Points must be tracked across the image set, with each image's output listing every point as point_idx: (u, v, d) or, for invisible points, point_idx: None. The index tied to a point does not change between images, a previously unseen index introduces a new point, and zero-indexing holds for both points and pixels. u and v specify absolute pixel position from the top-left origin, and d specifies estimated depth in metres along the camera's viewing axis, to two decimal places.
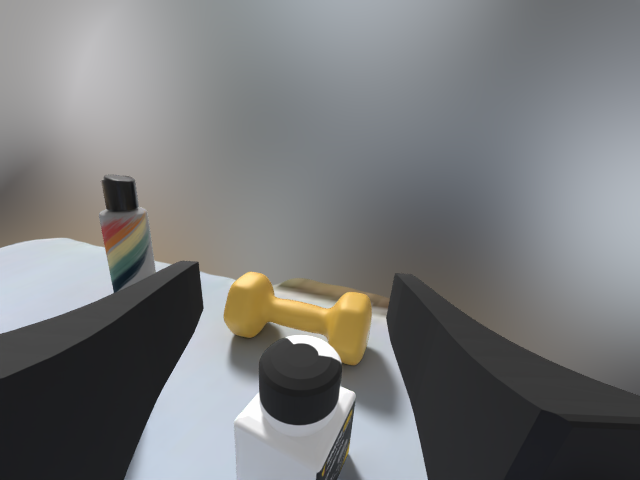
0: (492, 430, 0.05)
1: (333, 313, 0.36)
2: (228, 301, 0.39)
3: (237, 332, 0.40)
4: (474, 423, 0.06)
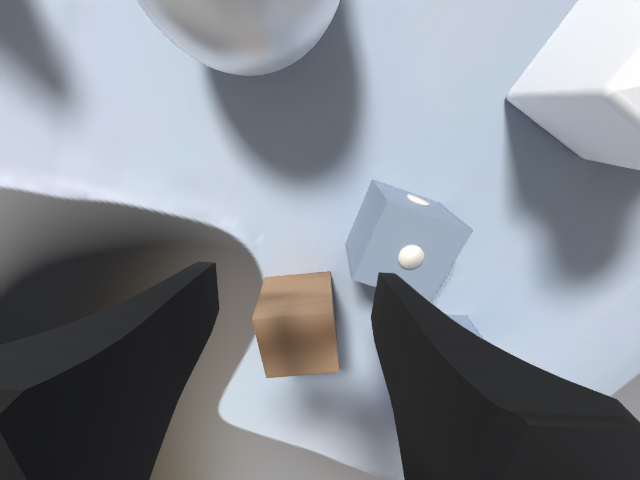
0: (458, 429, 0.05)
1: None
2: None
3: None
4: (443, 422, 0.06)
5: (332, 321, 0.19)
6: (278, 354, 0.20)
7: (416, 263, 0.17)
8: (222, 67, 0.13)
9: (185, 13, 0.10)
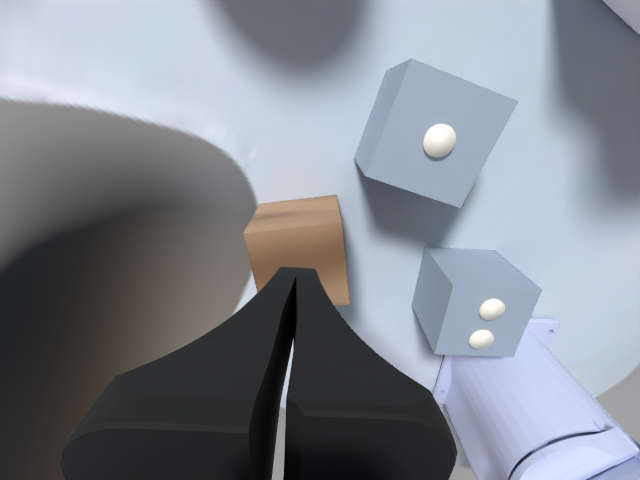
0: None
1: None
2: None
3: None
4: None
5: (341, 234, 0.15)
6: None
7: (446, 149, 0.13)
8: None
9: None
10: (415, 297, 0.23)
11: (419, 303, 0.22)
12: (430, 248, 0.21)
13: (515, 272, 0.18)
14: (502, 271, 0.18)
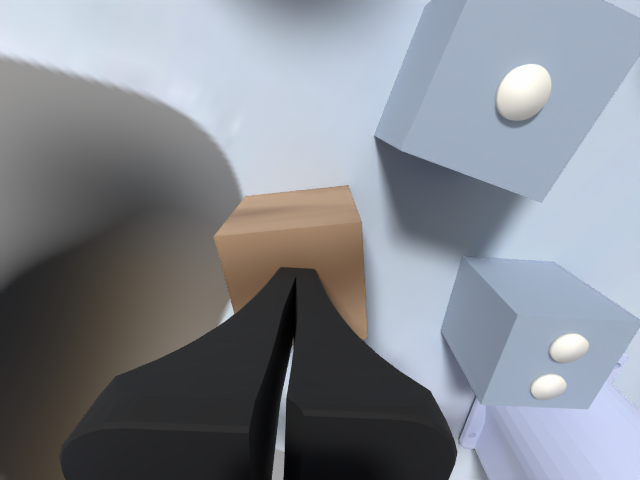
0: None
1: None
2: None
3: None
4: None
5: (359, 240, 0.10)
6: None
7: (532, 108, 0.08)
8: None
9: None
10: (446, 320, 0.17)
11: (454, 330, 0.16)
12: (470, 258, 0.16)
13: (594, 293, 0.13)
14: (576, 292, 0.13)
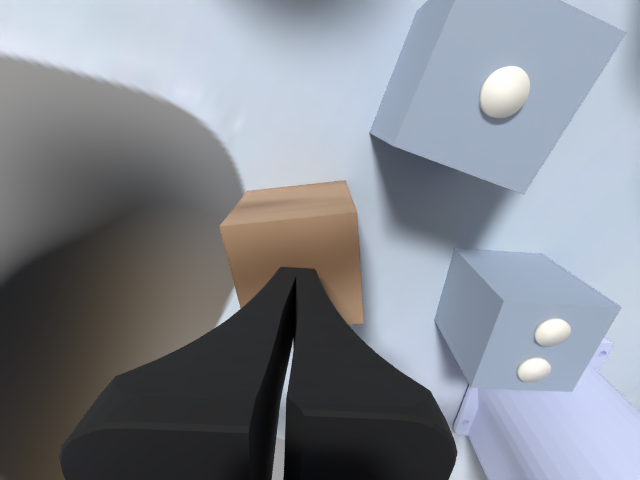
0: None
1: None
2: None
3: None
4: None
5: (355, 230, 0.11)
6: None
7: (513, 106, 0.09)
8: None
9: None
10: (440, 310, 0.18)
11: (446, 319, 0.17)
12: (461, 250, 0.17)
13: (577, 282, 0.14)
14: (561, 281, 0.14)
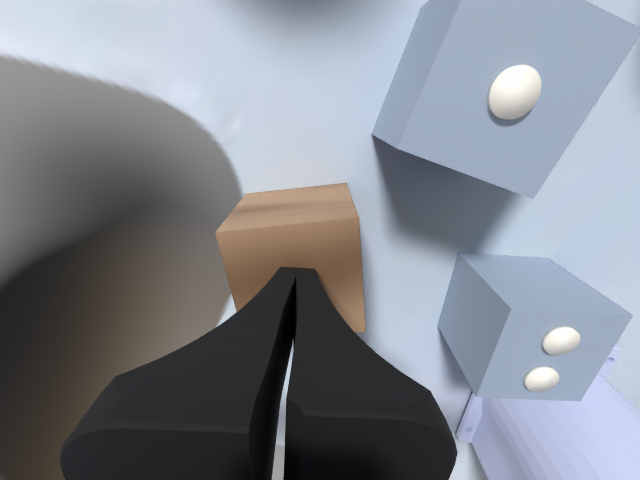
0: None
1: None
2: None
3: None
4: None
5: (357, 236, 0.11)
6: None
7: (523, 107, 0.09)
8: None
9: None
10: (443, 316, 0.18)
11: (450, 325, 0.17)
12: (466, 254, 0.16)
13: (586, 288, 0.14)
14: (569, 287, 0.14)
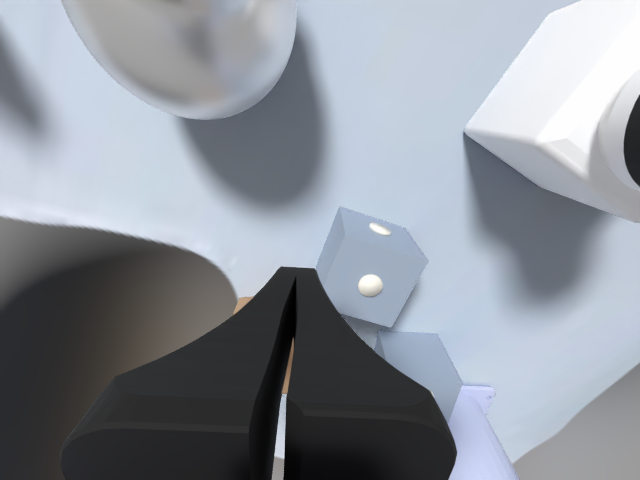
0: None
1: None
2: None
3: None
4: None
5: None
6: None
7: (375, 291, 0.18)
8: (179, 115, 0.13)
9: (135, 76, 0.11)
10: None
11: None
12: (382, 332, 0.25)
13: (447, 361, 0.23)
14: (436, 361, 0.23)
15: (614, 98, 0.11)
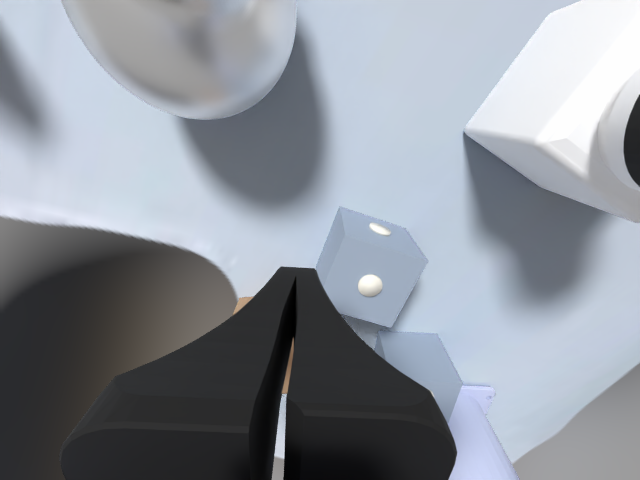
0: None
1: None
2: None
3: None
4: None
5: None
6: None
7: (375, 291, 0.18)
8: (179, 115, 0.13)
9: (135, 76, 0.11)
10: None
11: None
12: (382, 332, 0.25)
13: (447, 361, 0.23)
14: (436, 361, 0.23)
15: (614, 98, 0.11)
